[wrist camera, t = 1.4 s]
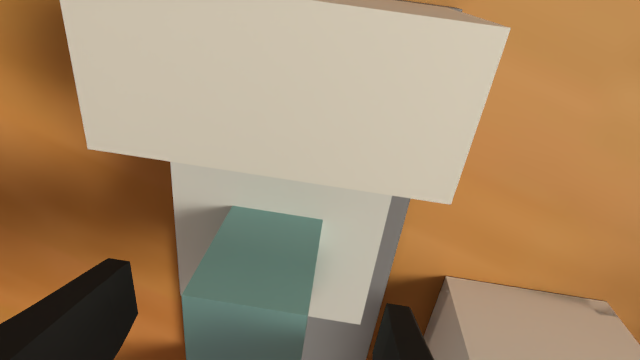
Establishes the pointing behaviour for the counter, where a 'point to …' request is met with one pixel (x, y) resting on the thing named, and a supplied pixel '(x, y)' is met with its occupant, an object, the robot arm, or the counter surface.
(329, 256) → the carriage
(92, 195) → the counter surface
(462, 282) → the box
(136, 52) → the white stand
